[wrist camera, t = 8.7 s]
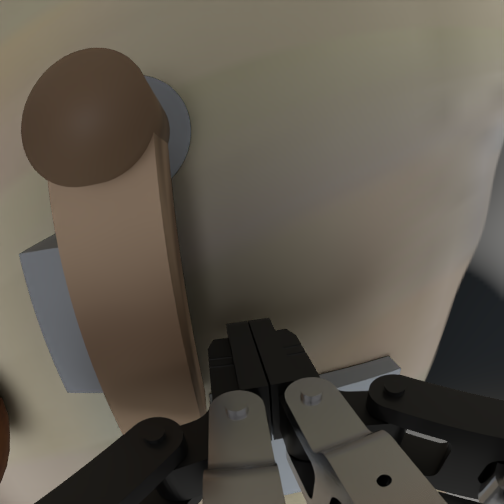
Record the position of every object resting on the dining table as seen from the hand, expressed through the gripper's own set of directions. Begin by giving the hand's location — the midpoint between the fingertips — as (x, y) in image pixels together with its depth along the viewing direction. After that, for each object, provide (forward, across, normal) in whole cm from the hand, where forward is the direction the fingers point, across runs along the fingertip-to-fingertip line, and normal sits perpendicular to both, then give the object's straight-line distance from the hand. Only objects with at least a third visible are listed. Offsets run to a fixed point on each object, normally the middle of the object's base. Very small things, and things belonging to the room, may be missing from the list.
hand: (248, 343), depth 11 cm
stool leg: (+1, +3, -3) cm, 5 cm away
